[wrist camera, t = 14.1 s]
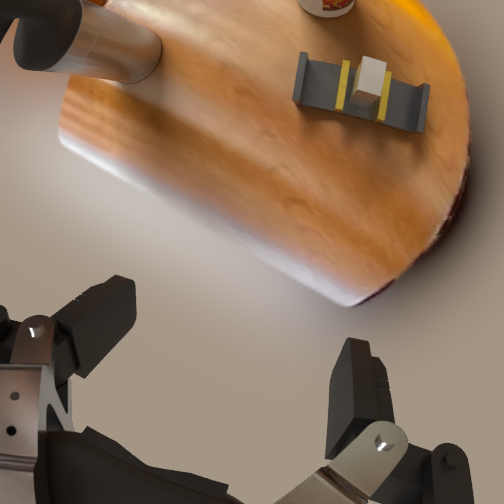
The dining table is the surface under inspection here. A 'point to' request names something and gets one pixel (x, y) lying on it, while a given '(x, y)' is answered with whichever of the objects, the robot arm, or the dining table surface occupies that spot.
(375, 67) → the white block
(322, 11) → the milk bottle
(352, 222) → the dining table surface
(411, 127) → the rack
